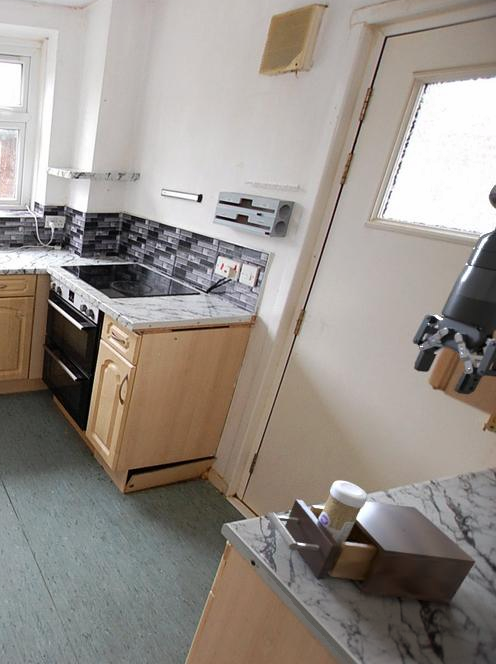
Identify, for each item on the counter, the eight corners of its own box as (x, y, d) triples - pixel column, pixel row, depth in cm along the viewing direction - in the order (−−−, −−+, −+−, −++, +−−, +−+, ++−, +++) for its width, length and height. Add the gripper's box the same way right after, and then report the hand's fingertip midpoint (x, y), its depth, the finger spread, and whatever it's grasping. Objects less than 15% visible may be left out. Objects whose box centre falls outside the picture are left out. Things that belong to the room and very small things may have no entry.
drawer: (285, 575, 75) (300, 541, 72) (255, 527, 84) (267, 495, 82) (395, 589, 74) (414, 555, 71) (352, 539, 84) (367, 507, 81)
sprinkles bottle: (300, 542, 80) (327, 480, 76) (320, 539, 82) (348, 477, 77) (324, 564, 76) (353, 500, 72) (344, 560, 77) (375, 497, 73)
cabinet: (362, 592, 74) (384, 550, 71) (319, 536, 85) (336, 497, 82) (449, 603, 73) (475, 561, 70) (394, 546, 84) (415, 507, 81)
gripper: (423, 281, 83) (388, 362, 88) (501, 305, 69) (453, 398, 75) (466, 285, 82) (428, 366, 88) (552, 310, 69) (501, 404, 75)
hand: (440, 381), depth 82 cm, fingers open, 8 cm apart
